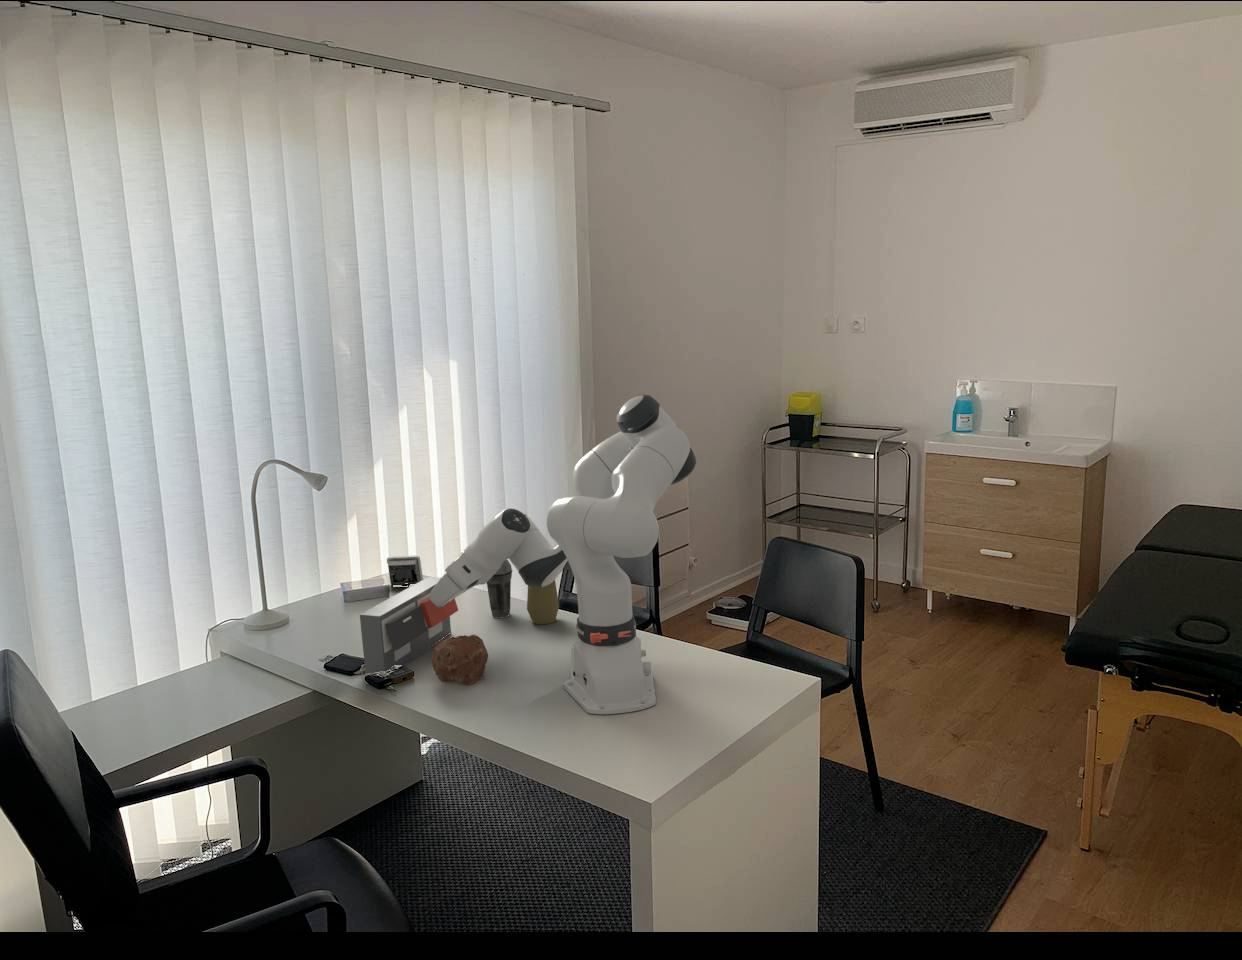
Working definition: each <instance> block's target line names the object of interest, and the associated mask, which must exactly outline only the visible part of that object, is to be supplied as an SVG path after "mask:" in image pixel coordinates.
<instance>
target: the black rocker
mask: <svg viewBox="0 0 1242 960" xmlns="http://www.w3.org/2000/svg"><path fill="white" fill-rule="evenodd" d="M386 627H387V631H388V635H389V638H390V642H391V645H392V649H393V650H398V649H400V648H401V647H403V646H404V645H406V644H407V643H409V642H410V641H412V640H414V639H415V638H417V637H418V636H420V635H421V634H423V633H424V632H426V631H427V628H426V624H425V621H424V617H423V613H422V610H421V606H415V607H414V608H412V609H410V610H409V611H407V612H405V613H403V614H402V615H400V616H398V617H397V618H395V619H393V620H392V621H390V622H388V623H386Z"/></svg>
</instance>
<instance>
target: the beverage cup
mask: <svg viewBox="0 0 1242 960" xmlns="http://www.w3.org/2000/svg"><path fill="white" fill-rule="evenodd" d="M511 564H512V563H510V560H509V559H507V560H505V561H504V562H503V563H502V565H501V567H500V568H499V570H498V571H497V572H496V573H495V574H494V575H493V576H492V577H491V578H490V580H489V581H488V582H487V583H486V587H487V594H488V601H489V606H490V611H491V616H493V618H494V617H498V618H497V619H501V618H500V617H505V618H507V617H506V616H508V615H509V614H510V613H511V612H510V611H511V595H512V594H511V591H512V590H511V587H512V584H511V583H512V581H511V580H512V577H513V576H512V575H513V569H512V568H513V567H512V565H511ZM510 615H511V614H510ZM510 615H509V616H510ZM509 616H508V617H509Z"/></svg>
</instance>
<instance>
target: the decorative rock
mask: <svg viewBox="0 0 1242 960" xmlns="http://www.w3.org/2000/svg"><path fill="white" fill-rule="evenodd" d="M488 659H489V652H488V650H487V648H486V646H485V644H484V640H483V639H482V638H481V637H479V636H478V635H475V634H471V635H465V634H464V635H458V636H456V637H454V636H451V637H450V638H447V639H446V638H445V639H442V640H441V641H439V643H438V644H436V646H435V647H434V648H433V650H432V656H431V659H430V660H431V663H430V664H431V667H432V668H433V670H434V672H435V673H434V675H435V676H437V678H438V680H439V682H442V683H448V682H450V683H451V682H454V683H460V684H464V685H466V684H467V685H471V684H473V683H474V682H478V681H479V680H480V679H481V678H483V677H484V674H485V671H486V664H487V663H488Z"/></svg>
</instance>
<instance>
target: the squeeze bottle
mask: <svg viewBox="0 0 1242 960" xmlns="http://www.w3.org/2000/svg"><path fill="white" fill-rule="evenodd" d="M558 595H559V594H558V590H557V583H556V579H555V580H554V581H553V582H552V583H550V584H549V585H547V586H546V587H543V588H538V587H532V586H529V585H527V598H526V599H527V600H526V602H527V603H526V610H527V613H528V615H529V617H530V620H531V622H532V623H533V624H535V625H548V624H552V623H554V622H556V619H557V616H558V612H559V608H560V602H559V596H558Z"/></svg>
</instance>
